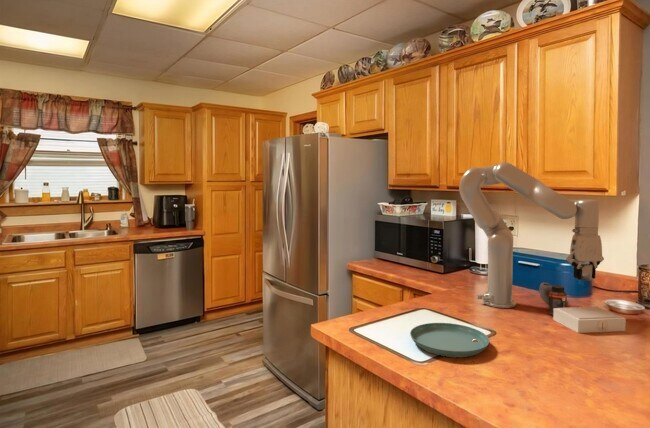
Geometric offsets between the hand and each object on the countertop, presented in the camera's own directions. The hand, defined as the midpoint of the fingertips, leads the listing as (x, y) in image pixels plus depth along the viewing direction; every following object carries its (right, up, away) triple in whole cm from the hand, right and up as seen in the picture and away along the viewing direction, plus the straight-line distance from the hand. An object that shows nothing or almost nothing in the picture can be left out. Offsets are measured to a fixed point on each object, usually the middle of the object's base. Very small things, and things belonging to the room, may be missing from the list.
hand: (584, 277), depth 150 cm
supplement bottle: (-11, -15, 0) cm, 18 cm away
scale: (-6, -15, -11) cm, 20 cm away
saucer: (-61, -18, -25) cm, 68 cm away
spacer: (0, -1, 0) cm, 1 cm away
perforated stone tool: (-5, -13, +17) cm, 22 cm away
